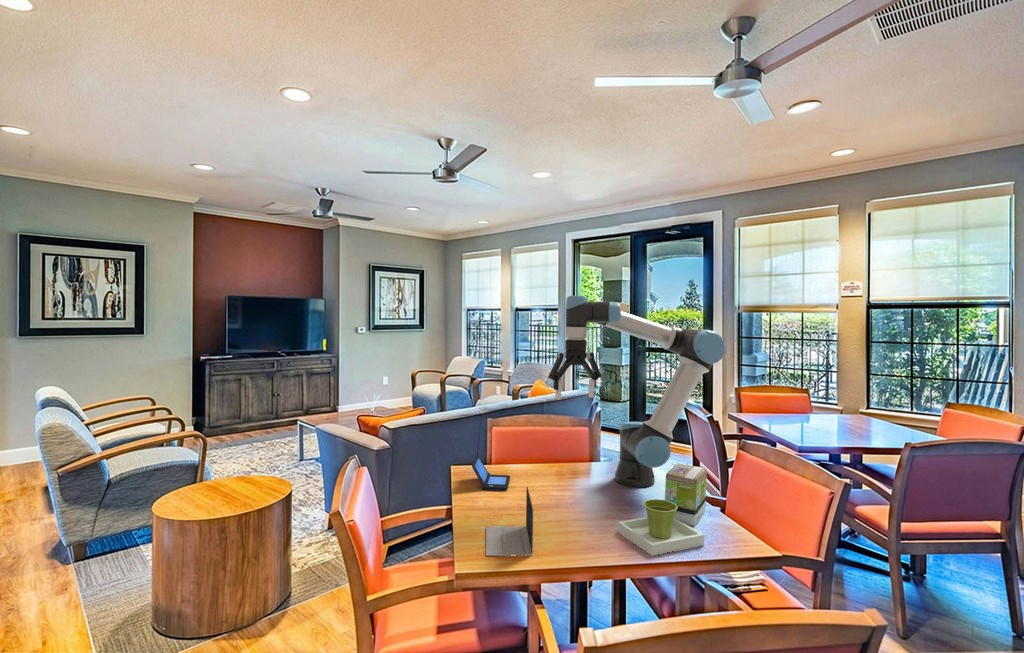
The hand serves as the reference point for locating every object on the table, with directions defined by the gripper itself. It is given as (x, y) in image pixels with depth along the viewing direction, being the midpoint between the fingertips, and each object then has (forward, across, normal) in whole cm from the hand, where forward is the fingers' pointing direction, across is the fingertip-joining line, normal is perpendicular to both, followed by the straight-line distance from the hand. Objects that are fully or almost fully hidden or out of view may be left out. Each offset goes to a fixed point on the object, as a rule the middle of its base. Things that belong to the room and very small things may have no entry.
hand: (575, 398), depth 178 cm
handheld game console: (+35, +24, -21) cm, 47 cm away
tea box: (+35, -25, +29) cm, 52 cm away
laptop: (+35, +36, +26) cm, 57 cm away
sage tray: (+35, -6, +40) cm, 53 cm away
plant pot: (+34, -6, +40) cm, 53 cm away
